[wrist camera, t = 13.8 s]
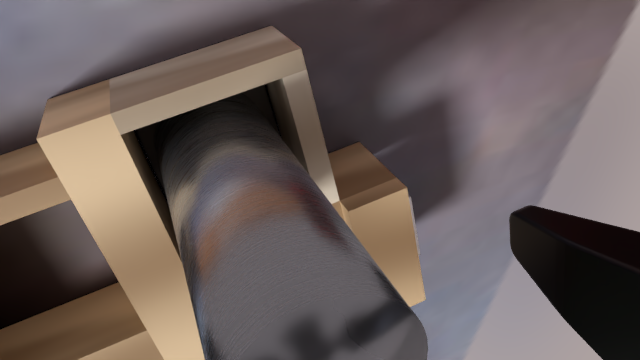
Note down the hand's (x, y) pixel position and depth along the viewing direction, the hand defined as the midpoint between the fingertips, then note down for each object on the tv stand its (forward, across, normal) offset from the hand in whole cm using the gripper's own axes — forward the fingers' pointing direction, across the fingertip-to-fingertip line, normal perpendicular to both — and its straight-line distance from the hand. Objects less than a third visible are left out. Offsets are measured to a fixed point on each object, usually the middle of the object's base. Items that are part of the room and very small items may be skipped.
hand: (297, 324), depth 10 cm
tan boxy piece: (+10, 0, 0) cm, 10 cm away
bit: (+9, 0, 0) cm, 9 cm away
